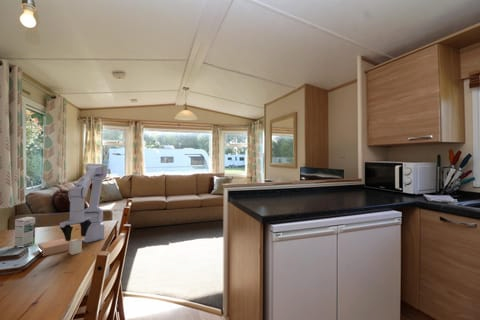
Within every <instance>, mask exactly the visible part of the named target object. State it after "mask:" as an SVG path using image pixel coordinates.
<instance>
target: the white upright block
mask: <svg viewBox="0 0 480 320" xmlns="http://www.w3.org/2000/svg"><path fill="white" fill-rule="evenodd" d="M81 239H82V238H74V239H71V240H70V241H69V250H68V253H69V254H70V255H71V256H73V255H77V254H81V253H82V250H83V249H82V247H83V240H81Z"/></svg>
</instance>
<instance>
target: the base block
mask: <svg viewBox="0 0 480 320" xmlns="http://www.w3.org/2000/svg"><path fill="white" fill-rule="evenodd" d="M37 244H38V246H37V248H38V247H39V248H40V249H41V250H42V251H43V255H42V256H43V257H45V256H49V255H55V254H58V253H62V252H66V251H69V245H70V241H66V239H65V238H60V239H55V240H49V241H44V242H39V243H37Z"/></svg>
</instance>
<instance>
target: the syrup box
mask: <svg viewBox="0 0 480 320" xmlns="http://www.w3.org/2000/svg"><path fill="white" fill-rule="evenodd" d="M35 240H36V217H34V216H25V217H20V218H15V220H14V244H13V245H14V246H27V245H30V246H34V245H35V244H36V241H35ZM14 246H13V247H14ZM27 247H28V246H27Z"/></svg>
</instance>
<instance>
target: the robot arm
mask: <svg viewBox="0 0 480 320" xmlns="http://www.w3.org/2000/svg"><path fill="white" fill-rule="evenodd" d="M107 174H108V165H107V164H106V163H89V162H88V163H87V164H86V166H85V173H84V176H81V177H80V178H79V179H78V181H77V182H76V183H75V185H74V186H71V187H69V189H68V192H67V196H68V201H69V202H70V203H69V219H67V220H66V221H65V220H64V221H62V222H59V227H60V230H61V232H62V233H63V236H64V239H65V240H66V241H68V242H70V240H72V239H71V238H72V233H73V232H72V231H73V228H74V226H72V225H77V224H79V226H80V236H81V237H82V238H80V239H81V240H82V242H84V243H86V244H87V243H90V242H91V243H92V242H95V241H96V242H97V241H99V240H101V241H102V240H105V224H104V222H103V220H104V210H103V209H102V208H101V207H99V206H100V200H101V193H102V185H103V182H104V181H103V180H105V179H106V178H107ZM91 184H92V186H91ZM90 186H91V191H90V198H89V203H88V207H86V208H85V203H86V202H85V200H86V199H85V198H86V197H87V195H88V192H89V187H90Z"/></svg>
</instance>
